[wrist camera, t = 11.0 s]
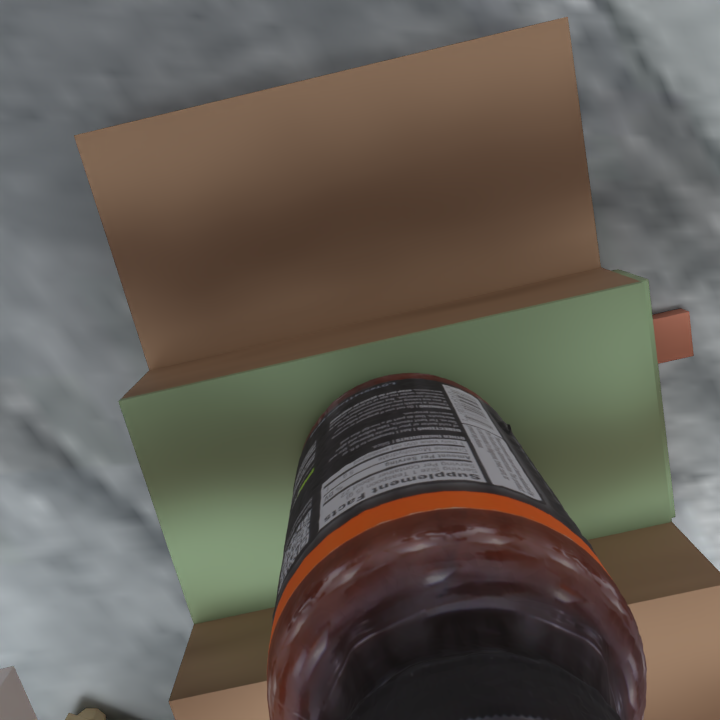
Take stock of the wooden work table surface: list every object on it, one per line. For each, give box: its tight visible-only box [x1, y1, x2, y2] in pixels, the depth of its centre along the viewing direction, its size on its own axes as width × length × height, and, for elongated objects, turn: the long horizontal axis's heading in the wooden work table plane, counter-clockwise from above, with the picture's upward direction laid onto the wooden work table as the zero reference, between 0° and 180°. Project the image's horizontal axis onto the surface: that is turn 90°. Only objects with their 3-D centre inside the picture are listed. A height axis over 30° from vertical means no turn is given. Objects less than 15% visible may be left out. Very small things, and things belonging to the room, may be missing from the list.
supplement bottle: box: [267, 373, 647, 720], centre depth 13 cm, size 6×6×11 cm
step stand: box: [74, 17, 720, 720], centre depth 20 cm, size 21×18×9 cm
